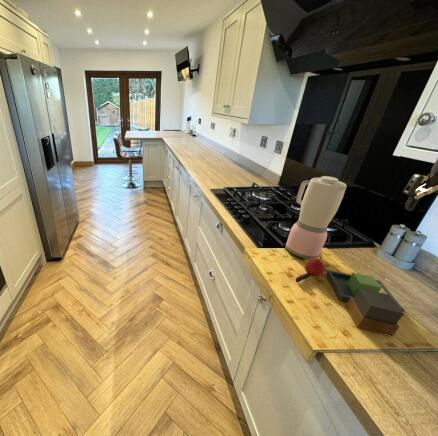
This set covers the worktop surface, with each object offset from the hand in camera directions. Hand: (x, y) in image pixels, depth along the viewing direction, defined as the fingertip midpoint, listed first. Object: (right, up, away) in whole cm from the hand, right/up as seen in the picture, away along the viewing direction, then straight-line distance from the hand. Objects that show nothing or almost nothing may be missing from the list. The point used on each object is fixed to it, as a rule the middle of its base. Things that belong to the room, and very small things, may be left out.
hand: (426, 212), depth 69 cm
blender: (-18, -16, +31) cm, 39 cm away
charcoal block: (-19, -28, -3) cm, 34 cm away
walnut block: (-19, -31, -1) cm, 36 cm away
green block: (-12, -26, +9) cm, 30 cm away
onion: (-23, -23, +16) cm, 36 cm away
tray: (-12, -26, +9) cm, 30 cm away
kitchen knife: (-23, -21, +15) cm, 35 cm away
